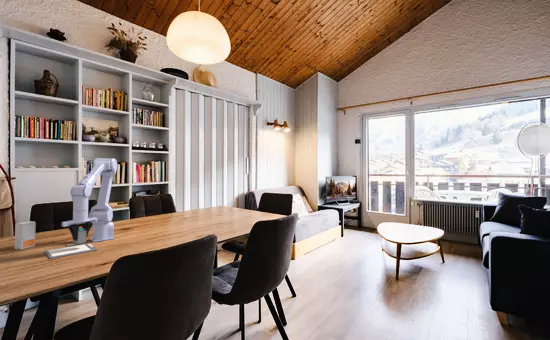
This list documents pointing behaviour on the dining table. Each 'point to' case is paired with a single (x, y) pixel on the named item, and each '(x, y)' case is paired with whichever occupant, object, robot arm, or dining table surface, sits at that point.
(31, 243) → the skincare box
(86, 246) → the clipboard
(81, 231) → the teal-capped grey stamp
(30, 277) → the dining table surface
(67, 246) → the word placard
